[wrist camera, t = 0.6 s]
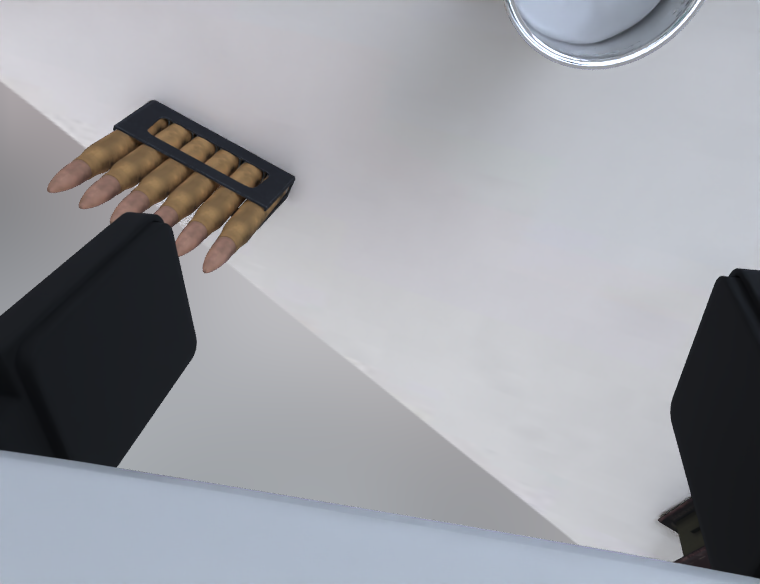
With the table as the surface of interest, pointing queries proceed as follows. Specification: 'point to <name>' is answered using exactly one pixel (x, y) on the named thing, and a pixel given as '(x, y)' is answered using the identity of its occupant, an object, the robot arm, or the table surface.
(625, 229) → the table surface
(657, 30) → the beer glass
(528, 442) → the table surface
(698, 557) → the diary
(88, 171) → the ammunition clip
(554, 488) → the table surface
